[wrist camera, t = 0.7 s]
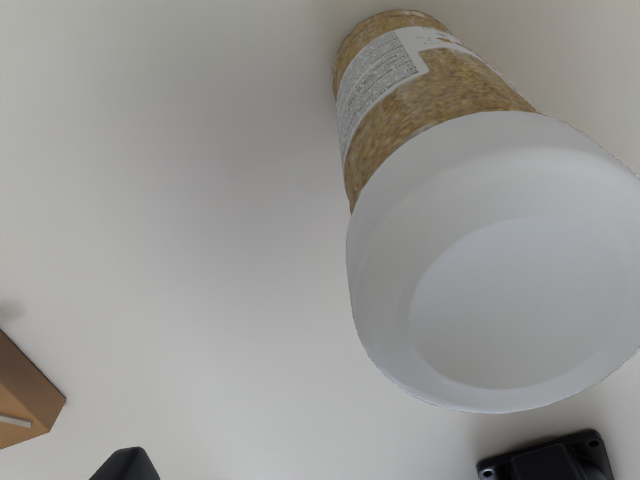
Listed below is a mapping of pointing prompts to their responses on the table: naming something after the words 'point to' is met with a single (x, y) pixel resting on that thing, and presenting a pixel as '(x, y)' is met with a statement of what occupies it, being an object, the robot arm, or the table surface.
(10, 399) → the brown piece
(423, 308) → the sprinkles bottle
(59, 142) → the table surface
